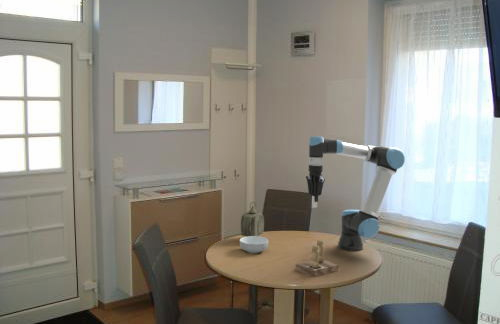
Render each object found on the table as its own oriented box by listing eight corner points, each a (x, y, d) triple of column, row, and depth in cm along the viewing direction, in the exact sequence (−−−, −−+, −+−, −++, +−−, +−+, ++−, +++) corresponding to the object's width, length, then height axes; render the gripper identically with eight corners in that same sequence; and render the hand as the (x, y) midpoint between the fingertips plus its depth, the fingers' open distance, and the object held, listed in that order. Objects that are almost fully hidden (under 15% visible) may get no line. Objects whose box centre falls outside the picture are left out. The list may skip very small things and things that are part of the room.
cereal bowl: (236, 248, 298) (236, 236, 297) (262, 246, 303) (262, 235, 302) (244, 256, 282) (244, 244, 281) (272, 254, 287) (272, 242, 286)
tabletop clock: (252, 237, 322) (252, 199, 319) (264, 239, 318) (265, 200, 315) (240, 242, 310) (240, 203, 307) (253, 245, 305) (253, 204, 302)
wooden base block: (320, 263, 271) (321, 238, 269) (338, 270, 260) (339, 244, 258) (295, 269, 260) (296, 243, 259) (312, 277, 250) (313, 249, 248)
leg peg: (315, 271, 258) (315, 245, 256) (319, 273, 255) (320, 246, 253) (309, 272, 256) (310, 246, 254) (314, 275, 253) (315, 248, 251)
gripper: (302, 163, 276) (301, 206, 278) (318, 166, 265) (317, 210, 268) (312, 163, 280) (311, 204, 283) (329, 165, 269) (327, 208, 272)
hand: (314, 207), depth 275 cm, fingers closed
